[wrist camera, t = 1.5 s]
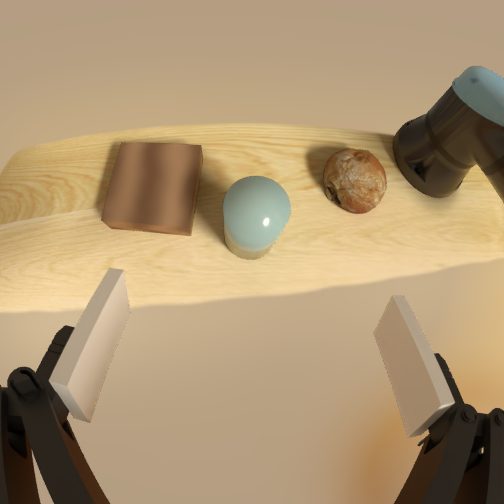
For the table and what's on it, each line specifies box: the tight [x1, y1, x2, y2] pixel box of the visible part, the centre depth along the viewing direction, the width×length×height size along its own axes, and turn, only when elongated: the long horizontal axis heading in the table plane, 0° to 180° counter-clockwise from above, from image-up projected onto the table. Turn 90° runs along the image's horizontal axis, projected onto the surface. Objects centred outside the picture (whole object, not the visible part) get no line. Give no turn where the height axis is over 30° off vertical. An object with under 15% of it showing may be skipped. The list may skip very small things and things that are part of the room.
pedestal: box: [101, 143, 203, 236], centre depth 41 cm, size 12×12×4 cm
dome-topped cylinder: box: [223, 176, 291, 260], centre depth 37 cm, size 7×7×11 cm
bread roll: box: [323, 149, 387, 214], centre depth 43 cm, size 10×10×8 cm
